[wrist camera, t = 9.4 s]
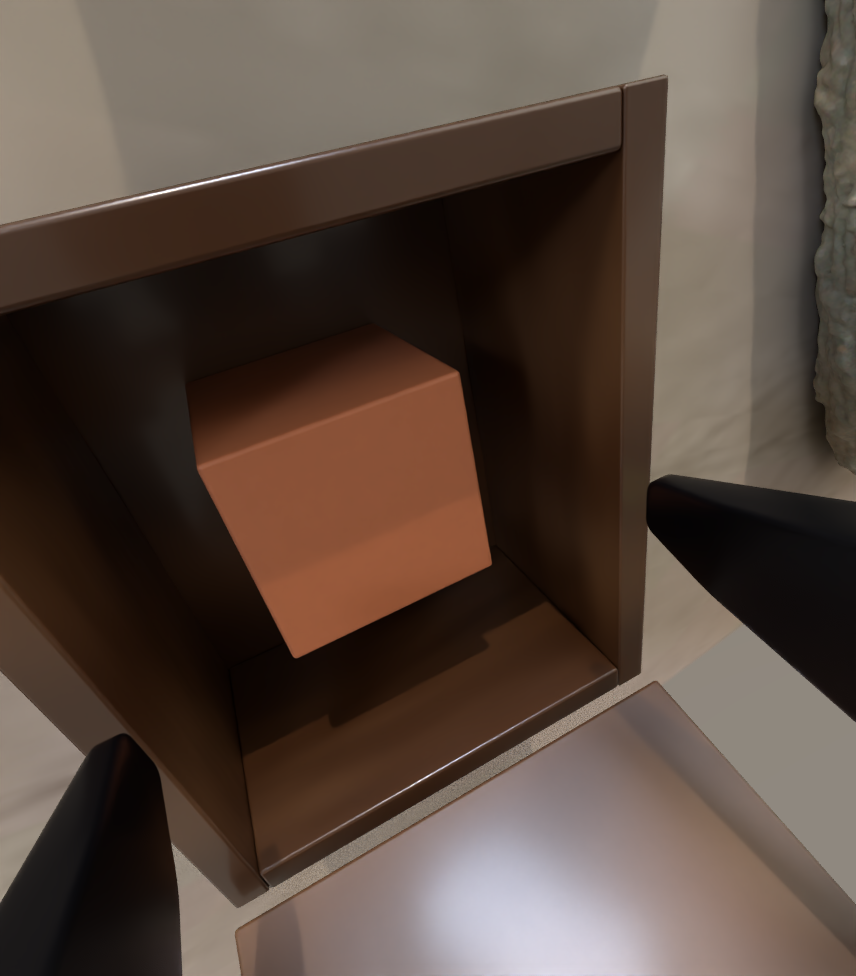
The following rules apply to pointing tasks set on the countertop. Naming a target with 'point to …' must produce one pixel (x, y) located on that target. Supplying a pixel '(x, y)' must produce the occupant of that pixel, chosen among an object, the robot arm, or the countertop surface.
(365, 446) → the block
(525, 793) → the chest lid
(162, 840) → the robot arm
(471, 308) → the chest
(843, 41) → the elongated rock
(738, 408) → the countertop surface
